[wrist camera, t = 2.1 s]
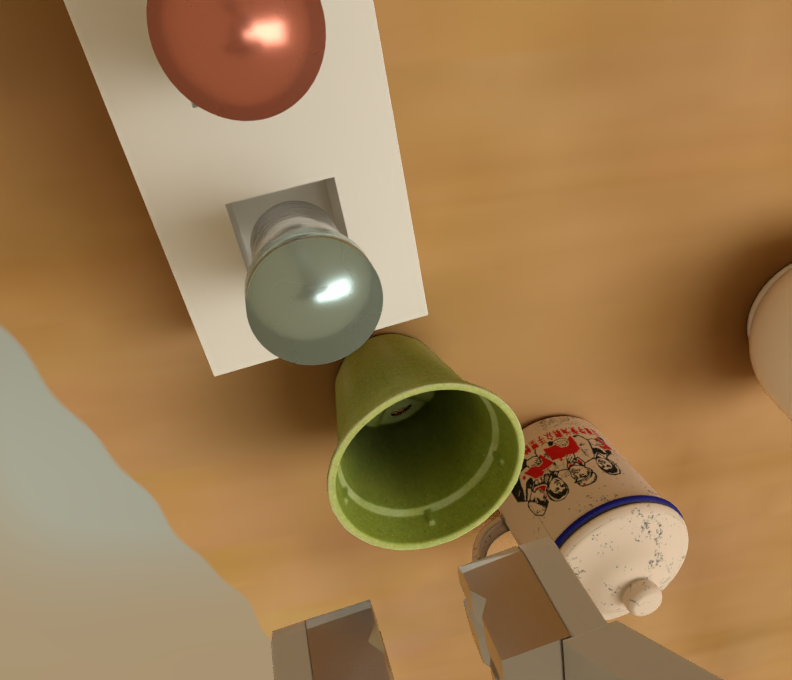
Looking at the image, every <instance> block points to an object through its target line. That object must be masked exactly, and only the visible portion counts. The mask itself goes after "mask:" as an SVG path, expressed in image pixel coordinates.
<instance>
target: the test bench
mask: <svg viewBox="0 0 792 680" xmlns="http://www.w3.org/2000/svg"><path fill="white" fill-rule="evenodd" d="M63 1H64V3H65V6H66V8H67V11H68V13H69V16H70V18H71V21H72V23H73V26H74V28H75V31H76V33H77V36H78V38H79V41H80V43H81V46H82V48H83V51H84V53H85V56H86V58H87V61H88V63H89V66H90V68H91V71H92V73H93V76H94V78H95V81H96V83H97V85H98V88H99V90H100V93H101V95H102V98H103V100H104V103H105V105H106V108H107V110H108V113H109V115H110V118H111V120H112V123H113V125H114V128H115V130H116V133H117V135H118V138H119V140H120V143H121V145H122V148H123V150H124V153H125V155H126V158H127V160H128V163H129V165H130V168H131V170H132V173H133V175H134V178H135V180H136V183H137V185H138V188H139V190H140V193H141V195H142V198H143V200H144V202H145V205H146V207H147V210H148V212H149V215H150V217H151V220H152V222H153V225H154V227H155V230H156V232H157V235H158V237H159V240H160V242H161V245H162V247H163V250H164V252H165V255H166V257H167V260H168V262H169V265H170V267H171V270H172V272H173V275H174V277H175V280H176V282H177V285H178V287H179V290H180V292H181V295H182V297H183V300H184V302H185V305H186V307H187V310H188V312H189V315H190V317H191V319H192V322H193V324H194V327H195V329H196V332H197V334H198V337H199V339H200V342H201V344H202V347H203V349H204V352H205V354H206V357H207V359H208V362H209V364H210V367H211V369H212V372H213V374H214V377H215V376H218V375H222V374H225V373H229V372H232V371H235V370H239V369H242V368H246V367H249V366H253V365H256V364H260V363H263V362H267V361H270V360H274V359H277V358H279V357H277V356H275V355H273V354H272V353H271V352H269V351H268V350H267V349H266V348H264V347H263V346H262V345H261V343H260V342H259V341H258V340H257V339H256V337H255V335H254V334H253V332H252V330H251V328H250V325H249V322H248V319H247V314H246V304H245V294H244V291H245V280H246V275H247V272H248V269H249V267H250V265H251V263H252V255H251V247H250V239H251V233H252V230H253V227H254V225H255V223H256V221H257V220H258V218H259V217H260V216H261V215H262V214H263V213H264V212H265V211H266V210H267V209H269V208H270V207H272V206H274V205H276V204H278V203H281V202H285V201H293V200H298V201H305V202H309V203H312V204H314V205H316V206H318V207H320V208H321V209H322V210H324V211H325V212H326V213H327V214H328V215H329V216H330V217H331V219H332V220H333V222H334V224H335V225H336V227H337V229H338V231H339V232H340V234H342V235H344V236H346V237H348V238H349V239H351V240H352V241H354V242H355V243H356V244H357V245H358V246H359V247H360V248H361V249H362V250H363V252H364V253H365V254H366V256H367V258H368V259H369V261H370V262H371V264H372V266H373V267H374V269H375V270H376V272H377V274H378V276H379V279H380V282H381V285H382V291H383V307H382V313H381V316H380V319H379V322H378V324H377V326H376V328H375V330H378V329H381V328H384V327H388V326H391V325H395V324H398V323H402V322H405V321H409V320H412V319H416V318H419V317H423V316H426V315H428V311H427V305H426V299H425V294H424V288H423V282H422V277H421V271H420V265H419V260H418V254H417V248H416V242H415V237H414V231H413V225H412V220H411V214H410V208H409V202H408V197H407V191H406V185H405V180H404V174H403V168H402V163H401V157H400V151H399V145H398V140H397V134H396V128H395V123H394V117H393V111H392V106H391V100H390V94H389V88H388V83H387V77H386V71H385V66H384V60H383V54H382V48H381V43H380V37H379V31H378V26H377V20H376V14H375V9H374V3H373V0H321V4H322V8H323V11H324V17H325V24H326V43H325V52H324V57H323V61H322V64H321V67H320V70H319V72H318V75H317V77H316V79H315V81H314V82H313V84H312V85H311V87H310V89H309V90H308V91H307V92H306V94H305V95H304V96H303V97H302V98H301V99H300V100H299V101H298V102H297V103H296V104H294V105H293V106H292V107H290V108H289V109H287V110H286V111H284V112H282V113H280V114H278V115H276V116H273V117H270V118H267V119H262V120H256V121H238V120H230V119H226V118H222V117H219V116H217V115H214V114H211V113H209V112H207V111H205V110H203V109H202V108H200V107H198V106H197V105H195V104H194V103H192V102H191V101H190V100H188V99H187V98H186V97H185V96H184V95H183V94H182V93H180V92H179V90H178V89H177V88H176V87H175V86H174V85H173V84H172V83H171V81H170V80H169V78H168V77H167V76H166V74H165V73H164V71H163V69H162V68H161V66H160V64H159V62H158V60H157V58H156V55H155V53H154V51H153V48H152V45H151V41H150V38H149V33H148V27H147V15H146V7H147V0H63Z"/></svg>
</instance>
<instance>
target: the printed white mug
mask: <svg viewBox="0 0 792 680" xmlns="http://www.w3.org/2000/svg"><path fill="white" fill-rule="evenodd" d="M522 431H523V435H524V441H525V453H524V459H523V464H522V469H521V472H520V475H519V477H518V480H517V482H516V484H515V486H514V488H513V489H512V491H511V493H510V494H509V496H508V497H507V498H506V500H505V501H504V502H503V503H502V505H501V506H500V507H499V508H498V510H499V512H500V513H501V515H500V516H499V517H497V518H495V519H494V520H492V521H491V522H489V523H488V524H487V525H485V526H484V527H483V528H482V529H481V531H480V532H479V534H478V535H477V537H476V539H475V542H474V545H473V550H472V561H473V562H474V561H477V560H479V559H482V558H485V557H486V555H487V551H488V549H489V547H490V545H491V544H492V543H493V541H494V540H496V539H497V538H498V537H499V536H501V535H502V534H504V533H506V532H507V531H509V530H510V531H511V533H512V535H513V536H514V538H515V540H516V542H517V543H518V545H519V546H520V545H523V544H526V543H529V542H532V541H534V540H537V539H540V538H543V537H546V536H548V537H549V538H551V539H552V540H554V542H555V543H556V545H557V547H558V548H559V550H560V551H561V553H562V554H563V556H564V557H565V559H566V560H567V562H568V564H569V565H570V567H571V568H572V570H573V571H574V573H575V574H576V576H577V577H578V579H579V580H580V582H581V584H582V585H583V587H584V588H585V590H586V591H587V593H588V594H589V596H590V597H591V599H592V600H593V602H594V604H595V605H596V607H597V608H598V610H599V611H600V613H601V614H602V616H603V617H604V619H605V620H610V619H613V618H617V617H620V616H622V615H625V614H627V613H629V612H630V613H631V614H633V615H636V616H645V615H648V614H650V613H652V612H653V611H655V610H656V609H657V608H658V607H659V605H660V604H661V601H662V594H661V591H662V590H663V589H664V588H665V587H666V586H667V585H668V584H669V583H670V582H671V580H672V579H673V578H674V577H675V575H676V574H677V572H678V571H679V569H680V567H681V565H682V563H683V561H684V559H685V556H686V553H687V549H688V531H687V527H686V524H685V522H684V519H683V517H682V515H681V513H680V512H679V510H678V509H677V508H676V507H675V506H674V505H673V504H671V503H670V502H669V501H667V500H665V499H662V498H661V497H660V496H659V495H658V494H657V493H656V492H655V491H654V490H653V488H652V487H651V486H650V485H649V484H648V483H647V482H646V481H645V480H644V479H643V478H642V477H641V476H640V474H639V473H638V472H637V471H636V470H635V469H634V468H633V467H632V466H631V465H630V464H629V463H628V462H627V460H626V459H625V458H624V457H623V456H622V455H621V454H620V453H619V452H618V451H617V450H616V449H615V447H614V446H613V445H612V444H611V443H610V442H609V441H608V440H607V439H606V438H605V437H604V436H603V435H602V433H601V432H600V431H599V430H598V429H597V428H596V427H595V426H593V425H592V424H591V423H589V422H587V421H585V420H583V419H580V418H576V417H571V416H558V417H551V418H547V419H543V420H540V421H538V422H535V423H533V424H531V425H529V426H527V427H526V428H524V429H522Z"/></svg>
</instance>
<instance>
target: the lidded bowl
mask: <svg viewBox="0 0 792 680" xmlns="http://www.w3.org/2000/svg"><path fill="white" fill-rule="evenodd" d="M747 336H748V339H749V354H750V360H751V364H752V367H753V370H754V373H755V375H756V377H757V380H758V381H759V383H760V385H761V387H762V388H763V390H764V392H765V393H766V394H767V395H768V396H769V398H770V399H771V400H772V401H773V402H774V403H775V405H776V406H777V407H778V408H779V409H780V410H781V411H782V412H783V413H784V414H785V415H786V416H787V417H788V418H790V419H791V420H792V263H791V264H789V265H788V266H786V267H784V268H783V269H781V270H780V271H779V272H777V273H776V274H775V275H774V276H773V277H772V278H771V279H770V280H769V281H768V282H767V283H766V284H765V285H764V287H763V288H762V289H761V291H760V292H759V293H758V295H757V297H756V298H755V300H754V302H753V304H752V307H751V309H750V312H749V315H748V319H747Z"/></svg>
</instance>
